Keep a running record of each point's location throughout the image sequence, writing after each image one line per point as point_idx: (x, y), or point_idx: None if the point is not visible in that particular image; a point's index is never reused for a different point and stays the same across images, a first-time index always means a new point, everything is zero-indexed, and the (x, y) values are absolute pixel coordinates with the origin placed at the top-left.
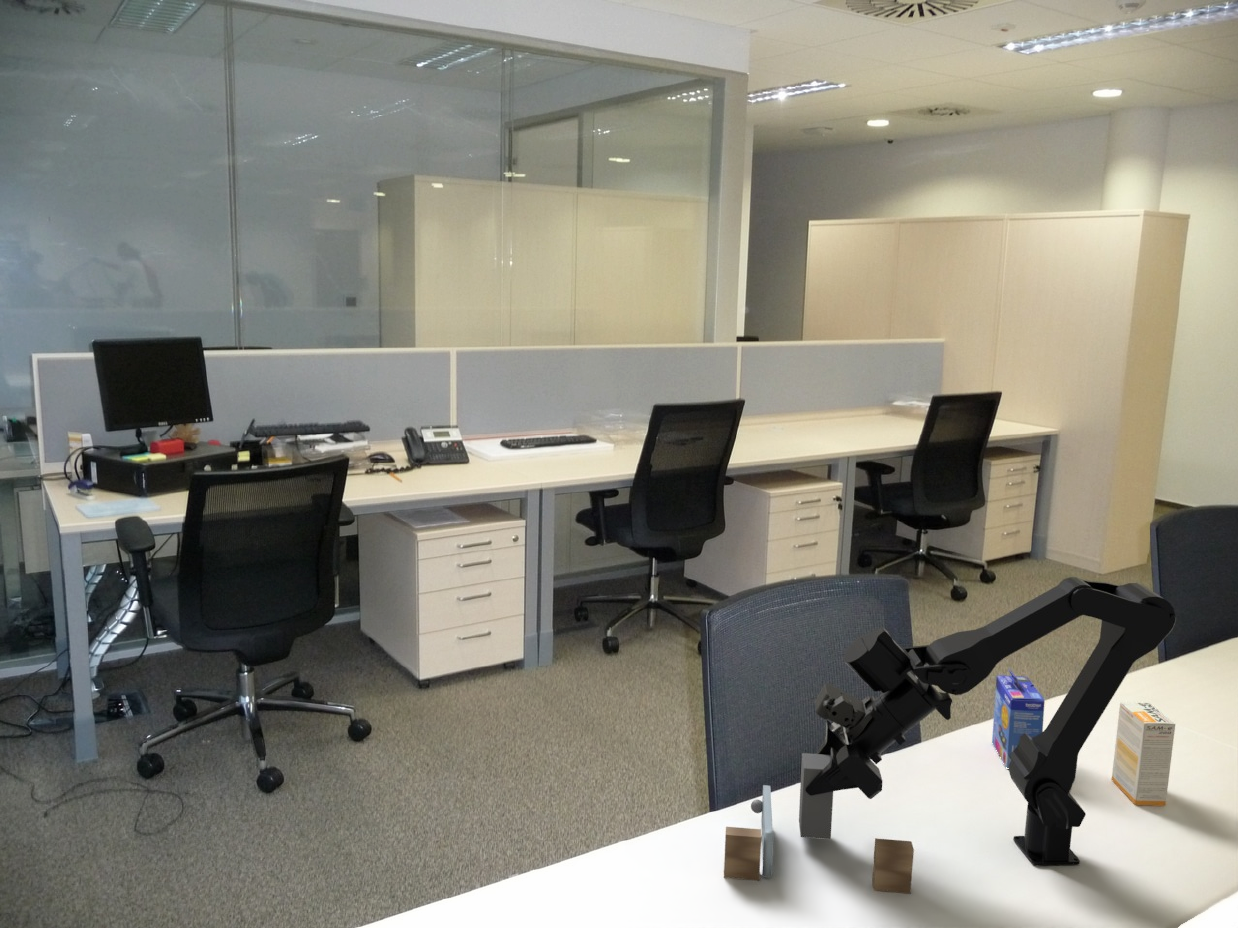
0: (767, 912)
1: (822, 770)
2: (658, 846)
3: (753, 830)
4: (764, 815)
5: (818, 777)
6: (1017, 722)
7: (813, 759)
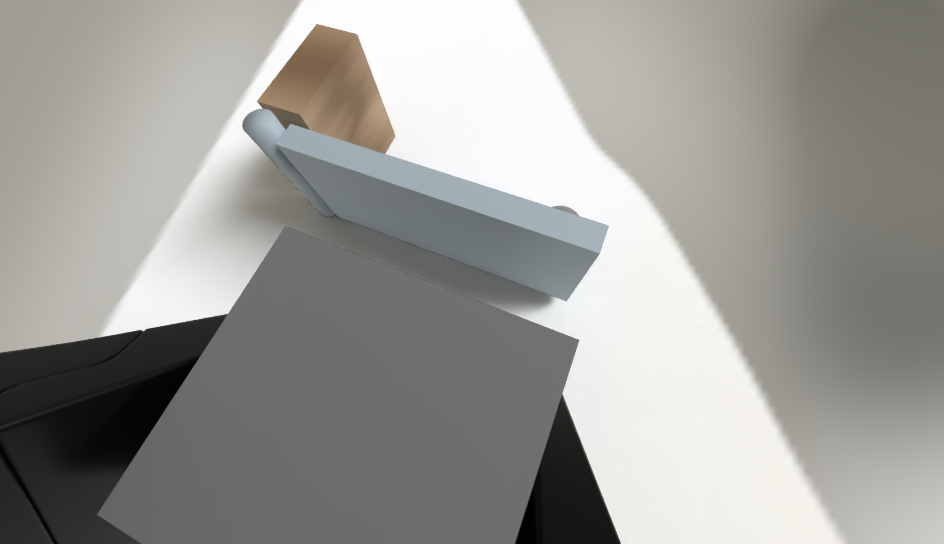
0: (221, 167)
1: (147, 363)
2: (516, 46)
3: (303, 93)
4: (376, 152)
5: (190, 324)
6: None
7: (411, 397)
